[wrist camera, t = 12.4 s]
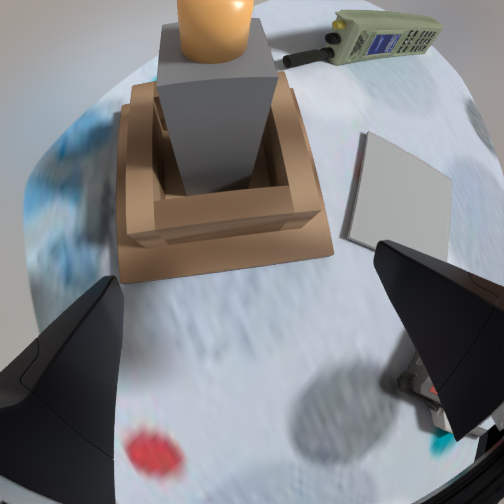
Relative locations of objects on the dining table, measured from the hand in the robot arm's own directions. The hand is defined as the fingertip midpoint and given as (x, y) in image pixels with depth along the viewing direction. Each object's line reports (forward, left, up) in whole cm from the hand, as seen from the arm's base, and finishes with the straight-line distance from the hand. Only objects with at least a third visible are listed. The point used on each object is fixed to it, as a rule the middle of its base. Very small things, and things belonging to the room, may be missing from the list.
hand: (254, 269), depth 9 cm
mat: (+11, -10, -9) cm, 18 cm away
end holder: (+6, +5, -9) cm, 12 cm away
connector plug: (+6, +5, -8) cm, 12 cm away
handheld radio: (+29, -3, -10) cm, 31 cm away
